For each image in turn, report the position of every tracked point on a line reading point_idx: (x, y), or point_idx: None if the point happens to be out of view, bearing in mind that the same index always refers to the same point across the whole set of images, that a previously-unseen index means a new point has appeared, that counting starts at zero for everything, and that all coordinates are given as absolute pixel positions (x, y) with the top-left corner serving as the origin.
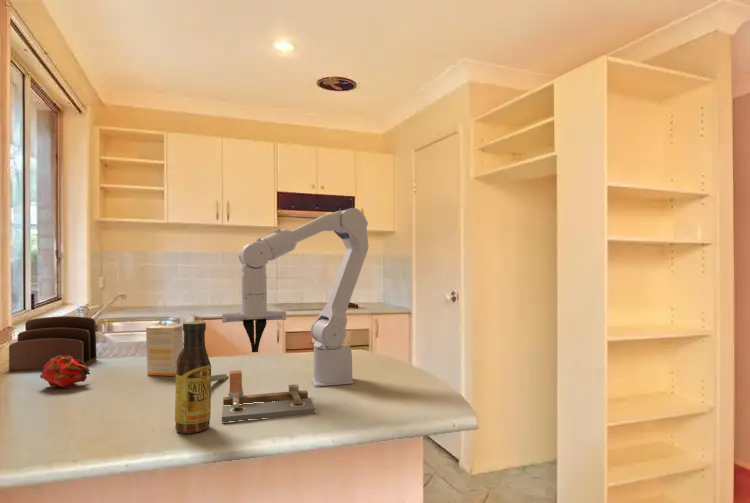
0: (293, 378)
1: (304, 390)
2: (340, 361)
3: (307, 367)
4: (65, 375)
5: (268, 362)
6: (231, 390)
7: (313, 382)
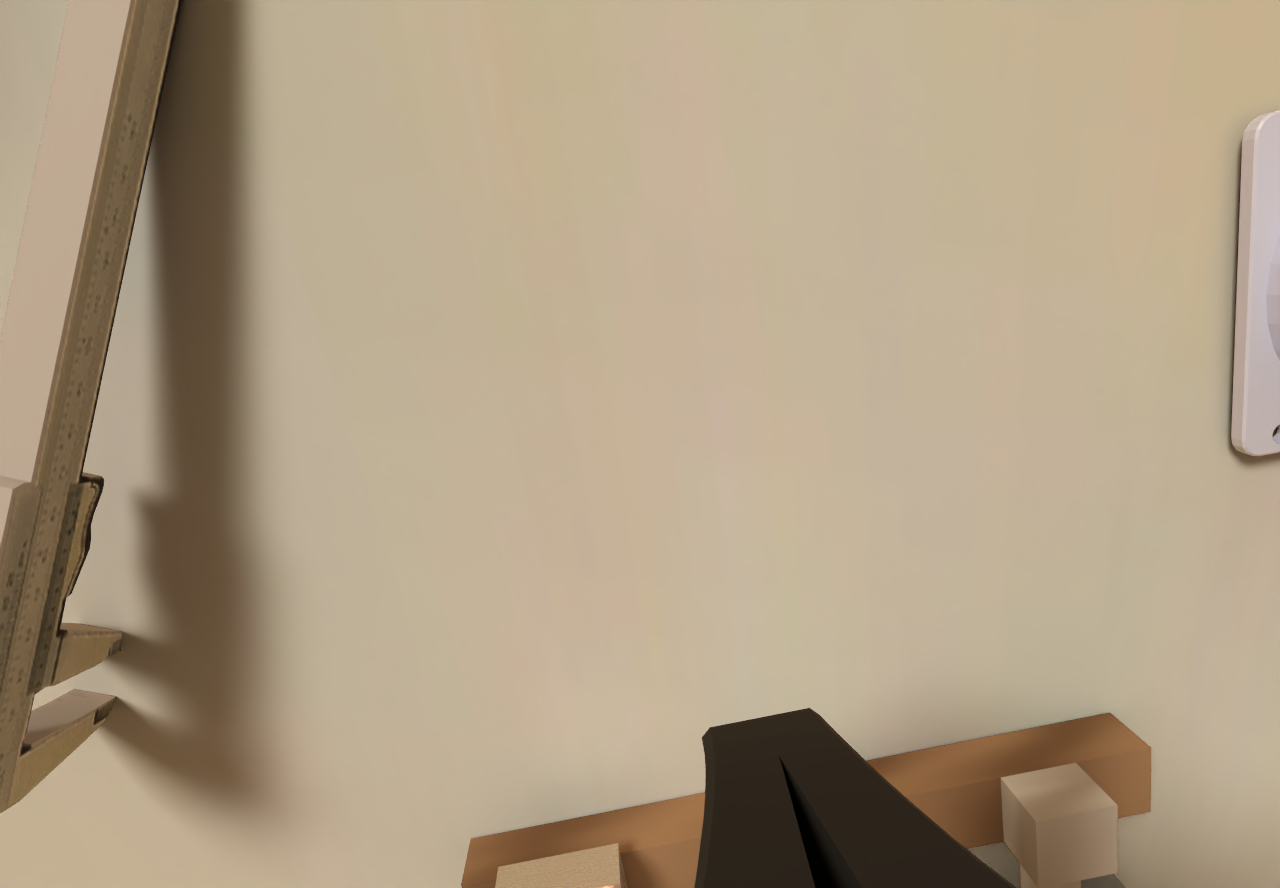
0: (1056, 35)
1: (1133, 756)
2: None
3: None
4: None
5: None
6: None
7: (1245, 357)
